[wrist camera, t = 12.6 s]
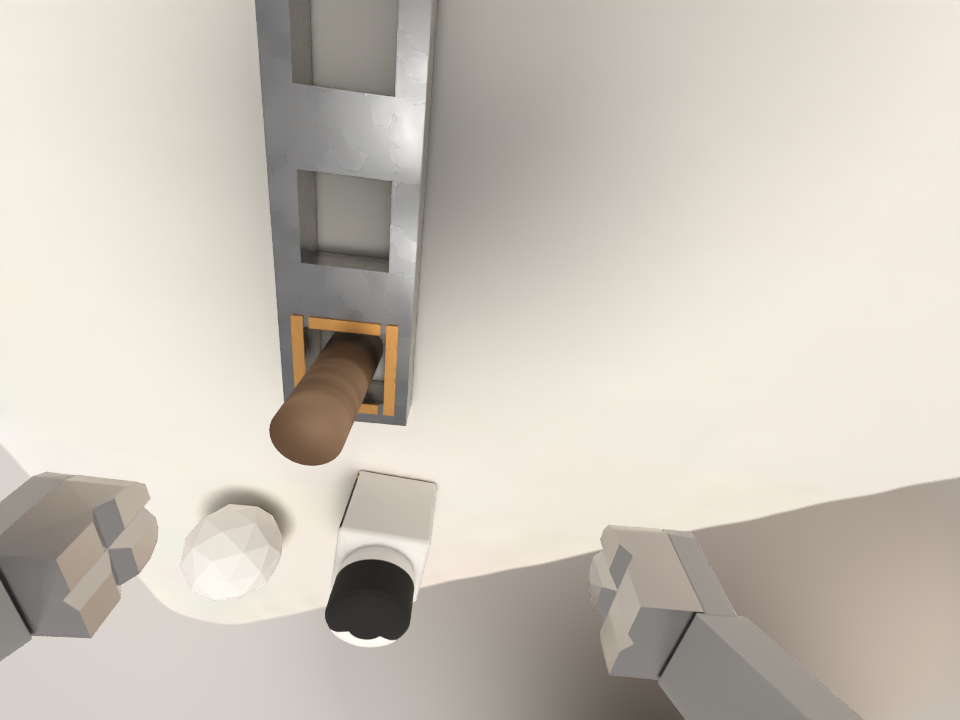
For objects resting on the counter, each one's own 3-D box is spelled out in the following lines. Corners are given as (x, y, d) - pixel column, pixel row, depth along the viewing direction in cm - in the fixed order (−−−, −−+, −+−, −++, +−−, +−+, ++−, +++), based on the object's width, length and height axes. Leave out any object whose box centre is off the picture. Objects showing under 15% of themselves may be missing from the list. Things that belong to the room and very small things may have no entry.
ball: (286, 500, 46) (309, 575, 41) (209, 544, 44) (224, 626, 40) (244, 473, 40) (265, 557, 35) (152, 523, 38) (163, 618, 34)
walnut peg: (361, 313, 34) (309, 391, 24) (393, 353, 36) (359, 444, 25) (320, 340, 35) (253, 427, 25) (354, 378, 37) (304, 476, 26)
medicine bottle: (359, 468, 41) (318, 586, 30) (437, 482, 42) (425, 601, 31) (350, 526, 44) (310, 653, 33) (423, 538, 45) (408, 665, 34)
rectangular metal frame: (276, -69, 25) (245, -101, 22) (440, -42, 26) (435, -70, 22) (300, 391, 37) (284, 416, 34) (411, 402, 38) (405, 427, 35)
